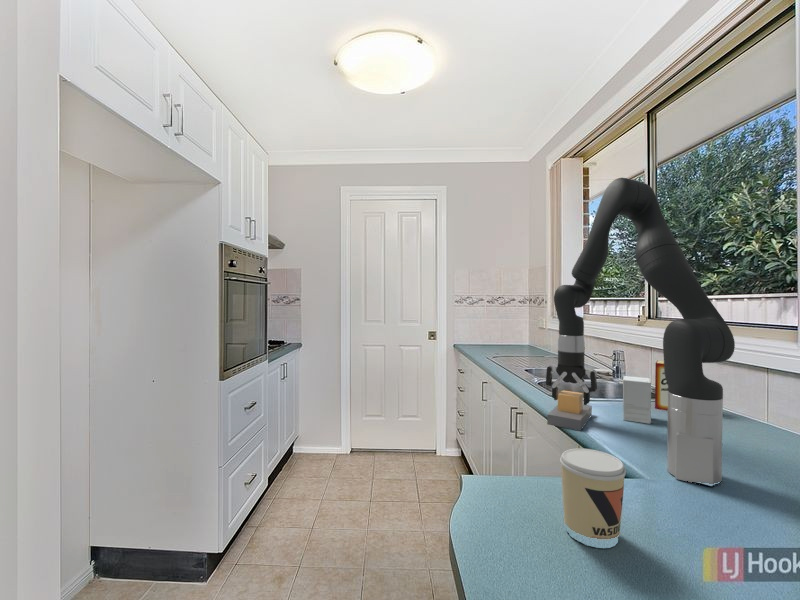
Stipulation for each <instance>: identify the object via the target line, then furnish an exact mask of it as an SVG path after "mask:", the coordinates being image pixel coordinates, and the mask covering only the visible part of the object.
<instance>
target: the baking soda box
mask: <svg viewBox="0 0 800 600" xmlns="http://www.w3.org/2000/svg"><path fill="white" fill-rule="evenodd" d="M654 371H655V377H654V378H655V380H654V381H655V383H654V384H655V387H654V409H656V410H661V411H667V412H668V383H667V381H666V378H665V373H664V360H658V359H657V360H656V362H655V370H654Z"/></svg>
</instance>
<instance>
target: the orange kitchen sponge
mask: <svg viewBox="0 0 800 600" xmlns="http://www.w3.org/2000/svg"><path fill="white" fill-rule="evenodd" d="M583 404H584V392H578V391H577V392H576V391H570V390H561V391H560V392H558V400H557V405H558V411H564V412H570V413H576V414H579V413H580V412H581V411H582V410H583Z"/></svg>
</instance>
